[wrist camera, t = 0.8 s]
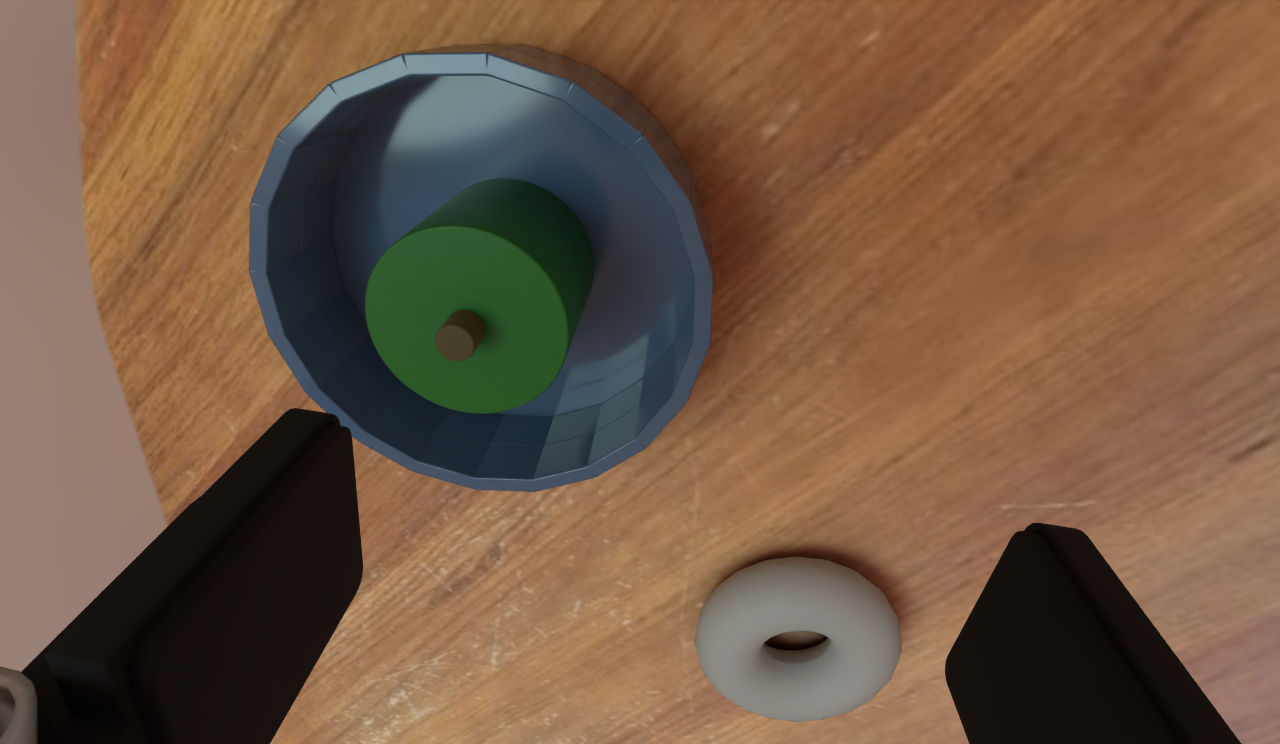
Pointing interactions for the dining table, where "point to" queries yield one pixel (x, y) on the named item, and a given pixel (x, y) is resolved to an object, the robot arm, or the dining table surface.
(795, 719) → the donut
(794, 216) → the dining table surface
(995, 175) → the dining table surface
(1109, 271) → the dining table surface
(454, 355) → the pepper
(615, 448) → the serving bowl
